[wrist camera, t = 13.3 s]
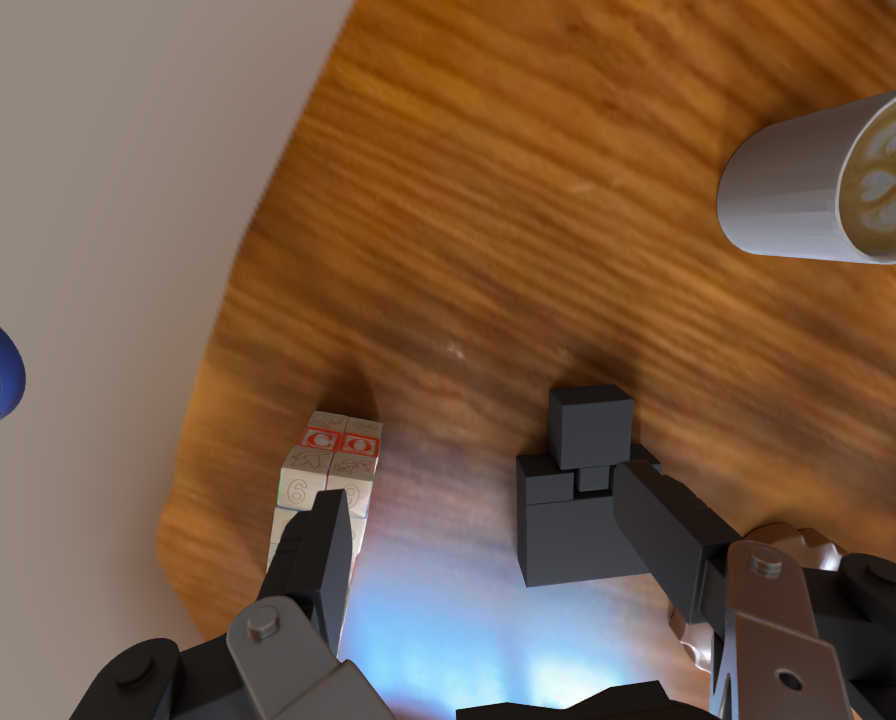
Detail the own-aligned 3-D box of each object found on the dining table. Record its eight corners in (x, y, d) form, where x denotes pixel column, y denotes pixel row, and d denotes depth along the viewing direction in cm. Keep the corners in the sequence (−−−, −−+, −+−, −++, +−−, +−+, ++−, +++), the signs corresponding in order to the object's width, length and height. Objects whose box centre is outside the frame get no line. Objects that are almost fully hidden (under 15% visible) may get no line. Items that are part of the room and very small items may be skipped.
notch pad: (517, 560, 43) (526, 587, 40) (516, 456, 39) (525, 477, 36) (632, 546, 44) (650, 573, 40) (640, 443, 40) (661, 463, 37)
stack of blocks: (312, 407, 36) (265, 493, 25) (384, 420, 37) (373, 510, 26) (279, 601, 42) (229, 745, 30) (343, 608, 43) (318, 750, 31)
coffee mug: (692, 223, 34) (801, 222, 25) (765, 96, 32) (917, 41, 22) (814, 289, 37) (955, 312, 27) (890, 177, 34) (1073, 159, 25)
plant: (739, 692, 52) (824, 812, 41) (643, 616, 47) (712, 731, 36) (878, 591, 49) (1008, 693, 38) (791, 497, 44) (914, 585, 33)
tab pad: (548, 471, 40) (560, 493, 37) (549, 389, 38) (562, 405, 34) (609, 465, 41) (627, 487, 37) (614, 383, 38) (634, 399, 35)
